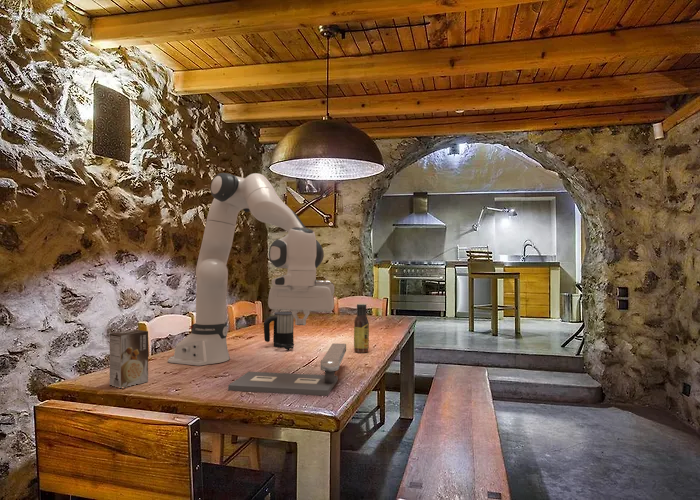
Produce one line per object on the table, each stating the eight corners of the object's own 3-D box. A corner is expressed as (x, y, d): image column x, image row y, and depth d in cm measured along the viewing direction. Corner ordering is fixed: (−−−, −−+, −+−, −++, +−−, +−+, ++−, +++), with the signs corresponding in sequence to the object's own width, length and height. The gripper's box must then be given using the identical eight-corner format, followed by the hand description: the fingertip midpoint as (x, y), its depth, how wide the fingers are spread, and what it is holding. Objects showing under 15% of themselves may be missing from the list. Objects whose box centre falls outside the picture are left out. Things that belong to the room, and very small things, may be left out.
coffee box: (136, 379, 142) (137, 329, 142) (148, 382, 138) (149, 331, 139) (108, 386, 134) (109, 333, 134) (120, 389, 131) (121, 335, 131)
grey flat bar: (331, 350, 161) (331, 343, 161) (347, 350, 160) (347, 343, 160) (319, 371, 131) (319, 362, 131) (337, 371, 131) (337, 363, 131)
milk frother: (285, 343, 203) (285, 310, 203) (308, 347, 193) (309, 313, 193) (260, 347, 192) (260, 313, 193) (283, 353, 182) (283, 317, 182)
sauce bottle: (367, 353, 181) (367, 305, 181) (352, 353, 182) (352, 304, 182) (369, 350, 187) (370, 303, 188) (355, 349, 188) (355, 303, 189)
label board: (228, 390, 130) (228, 373, 130) (248, 376, 146) (248, 360, 146) (329, 395, 126) (329, 378, 126) (339, 380, 141) (339, 364, 141)
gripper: (336, 280, 137) (335, 324, 137) (273, 278, 140) (272, 322, 140) (332, 281, 131) (331, 328, 130) (266, 279, 134) (265, 325, 134)
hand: (300, 325), depth 135 cm, fingers closed
